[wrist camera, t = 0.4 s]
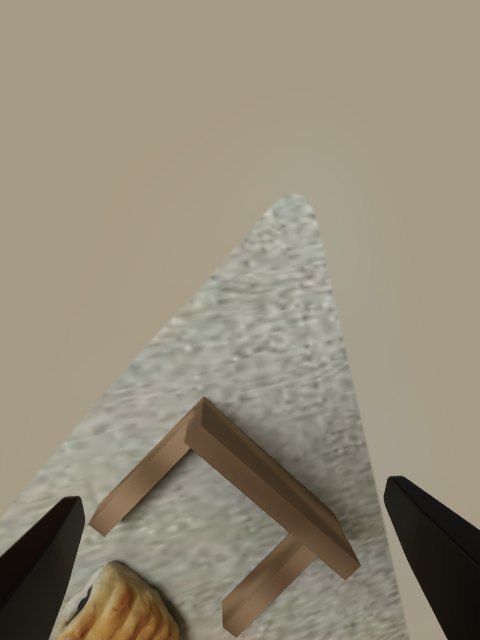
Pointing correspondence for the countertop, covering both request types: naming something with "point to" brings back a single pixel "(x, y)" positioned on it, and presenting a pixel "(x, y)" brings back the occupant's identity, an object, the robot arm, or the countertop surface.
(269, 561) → the frame
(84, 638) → the pastry
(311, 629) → the countertop surface
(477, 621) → the robot arm
